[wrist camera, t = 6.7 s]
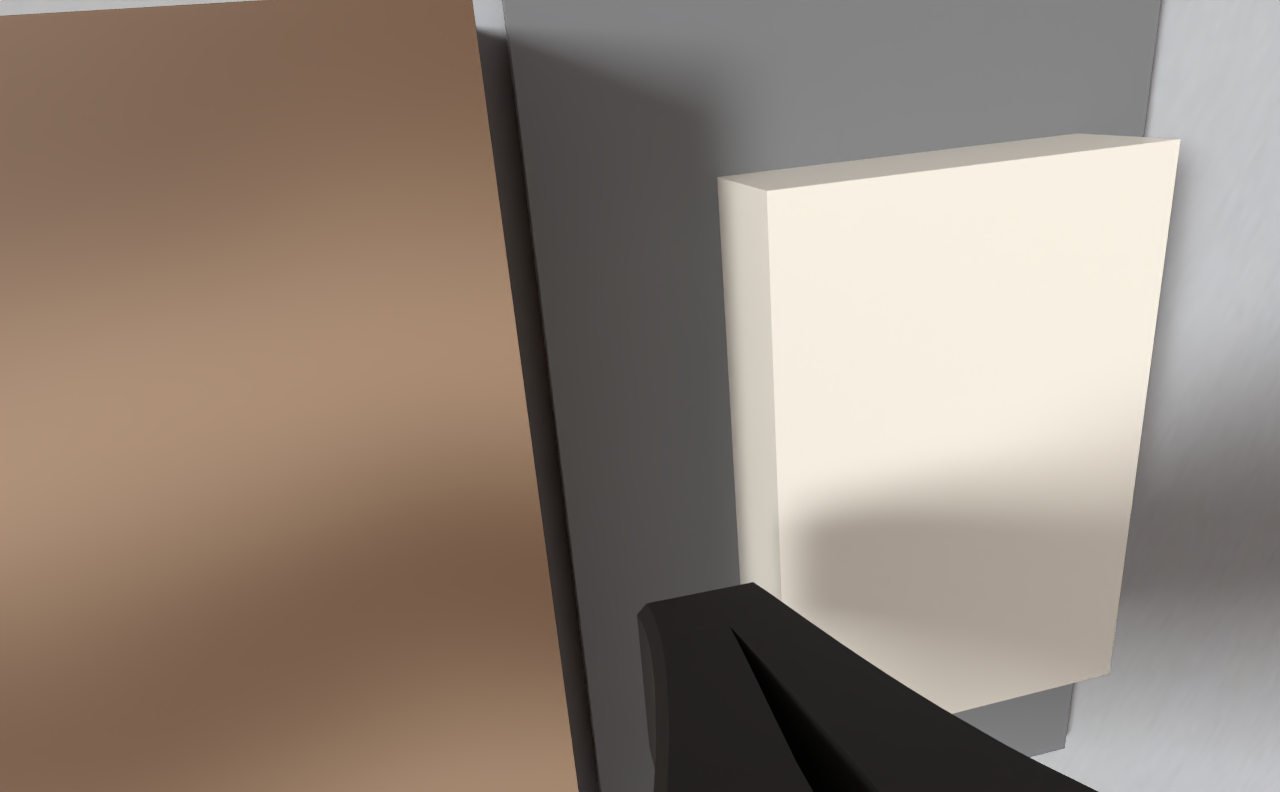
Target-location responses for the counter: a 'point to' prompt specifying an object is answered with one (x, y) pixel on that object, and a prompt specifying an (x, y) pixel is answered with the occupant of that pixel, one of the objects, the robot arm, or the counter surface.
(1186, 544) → the counter surface
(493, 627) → the wooden block
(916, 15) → the mat
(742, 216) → the cream sticky note pad
